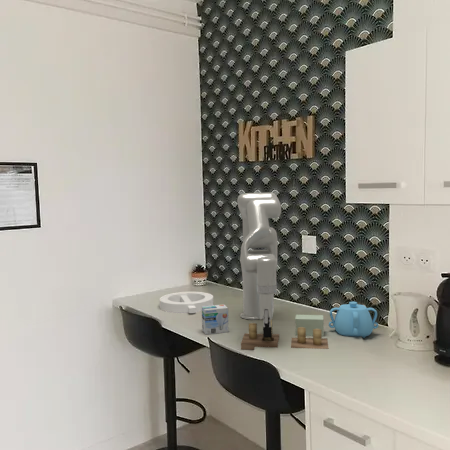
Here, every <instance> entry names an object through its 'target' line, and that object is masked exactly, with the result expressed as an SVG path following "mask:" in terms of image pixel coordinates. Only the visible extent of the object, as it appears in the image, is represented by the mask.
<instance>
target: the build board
mask: <svg viewBox="0 0 450 450" xmlns="http://www.w3.org/2000/svg"><path fill="white" fill-rule="evenodd" d="M279 340H280V334H278V333H272V340H271V341H265V340H264V337H263V333H258V324H257V323H256V322H250V323H248V332H247V333H245V332H244V334H243V336H242V339H241V342H240V350H243V351H244V350H248V351H251V350H252V351H254V350H255V348H277V349H278V346H279Z"/></svg>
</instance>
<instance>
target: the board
mask: <svg viewBox="0 0 450 450" xmlns="http://www.w3.org/2000/svg"><path fill="white" fill-rule="evenodd" d="M290 349H315V350H316V349H318V350H319V349H320V350H321V349H322V350H328V349H330V348H329V342H328V338H324V337H323V336H322V330H321V329H313V336H312V337H307V336H306V328H304V327H298V328H297V336H296V337H291V339H290Z"/></svg>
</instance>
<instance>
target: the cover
mask: <svg viewBox="0 0 450 450" xmlns="http://www.w3.org/2000/svg"><path fill="white" fill-rule="evenodd" d="M294 320H295V322H294V323H295V336H296V337H297V328H298V327H304V328H306V337H313V329H321V330H322V337H324V335H325V334H324V333H325V332H324V331H325V330H324V329H325V328H324V326H325V325H324V315H323V314H295V318H294Z"/></svg>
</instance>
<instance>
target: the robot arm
mask: <svg viewBox="0 0 450 450" xmlns="http://www.w3.org/2000/svg"><path fill="white" fill-rule="evenodd" d="M236 203H237V206H238V209H239V214H240V215H241V219H242V243H241V248H240V256H239V261H240V263H239V264H240V268H241V274H242V304H243V306H242V307H243V308H242V309H243V312H241V313H240V315H239V317H240V318H242V319H244V320H250V321H251V320H254V321H255V320H260V321H262V320H263V327H262V334H263V337H272V334H273V326H272V327H271V320H272V321H273V318H274V317H273V316H274V312H275V308H274V307H275V306H274V305H275V299H274V297H275V296H274V295H276V294H277V292H278V290H277V287H278V286H277V268H278V233H277V230H276V229H275V228H273V227H271V226H270V222H269V219H278V218H279V217H280V216H281V214H282V206H281V205H282V204H281V202H280V200H279V198H278V196H277V195H276V193H274V192H247V193H240V194H239V195H238V196H237V202H236ZM261 248H263V249H261ZM264 248H266V249H264ZM248 249H251V250H248ZM268 318H270V319H268ZM268 321H269V322H268Z"/></svg>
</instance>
